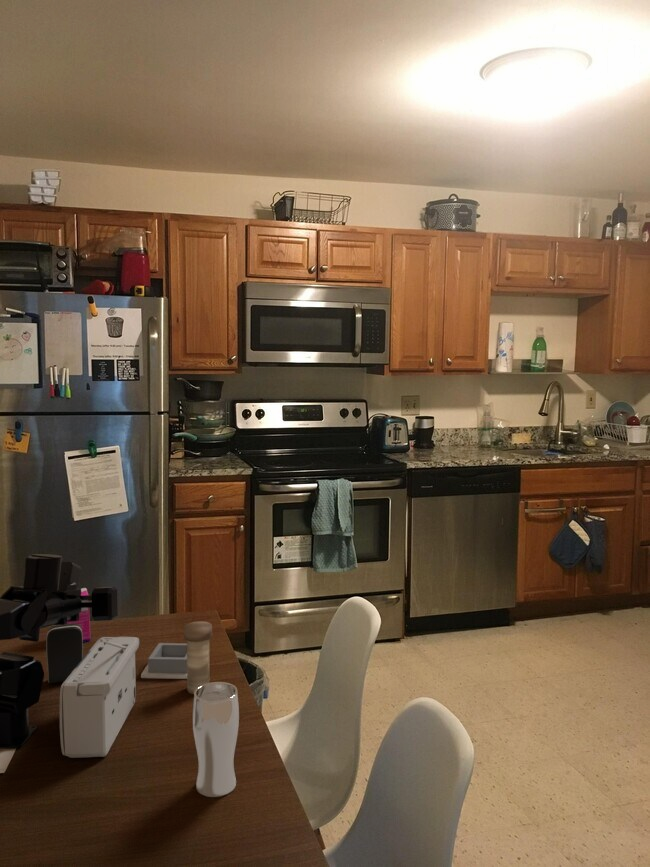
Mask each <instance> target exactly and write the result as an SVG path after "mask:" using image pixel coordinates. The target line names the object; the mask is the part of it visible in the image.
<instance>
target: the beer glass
mask: <svg viewBox="0 0 650 867" xmlns="http://www.w3.org/2000/svg"><path fill="white" fill-rule="evenodd" d="M192 706H193V707H192V732H193V738H194V742H195V748H196V754H197V759H198V769H197V770H198V771H197V772H198V773H197V778H196V783H195V784H196V786H195V789H196V790H197V793H199V794H200V795H201V796H204V797H207V798H220V797H223V796H226V795H228V794H230V793H232V792H233V791H234V790H235V788H236V786H237V785H236V784H237V779H236V774H235V766H234V760H235V758H234V757H235V752H236V751H235V750H236V747H237V746H236V745H237V740H238V735H239V724H240V723H239V721H240V710H239V709H240V708H239V695H238V688H237V687H236V685H234V684H232V683H230V682H226V681H214V682H213V681H211V682H210V683H207V684H204V685H201V686H199V687H198V688H197V689H196V690H195V691H194V694H193V705H192Z"/></svg>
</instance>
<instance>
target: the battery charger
mask: <svg viewBox="0 0 650 867" xmlns="http://www.w3.org/2000/svg"><path fill="white" fill-rule="evenodd" d="M45 647H46V649H45V650H46V662H47V683H48V684H50V685H51V684H59V683H60V684H61V683H64V681H65V680H66V679H67V678H68V676H69V675H70V674H71V673H72V672H73V670H74V669H75V668H76V667H77V665H78V664H79V663H80V662H81V660H82V659H83V658H84V657H83V656H84V652H83V651H84V642H83V636H82V630H81V627H80V626H79V625H78V624H64V625H52V626H50V627H49V629H48V630H47V633H46V645H45Z"/></svg>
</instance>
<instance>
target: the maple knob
mask: <svg viewBox="0 0 650 867" xmlns="http://www.w3.org/2000/svg"><path fill="white" fill-rule="evenodd" d="M212 637H213V624H212V623H210V622H208V621H202V620H201V621H192V622H188V623H186V624H185V625H184V626H183V639H184V640H185V641H186V644H187V679H186V681H187V684H186V685H187V686H186V687H187V692H188V694H191V695H194V691H195V690H196V689H197V688H198V687H199V686H201V685H204V684H207V683H211V682H210V681H211V680H210V640H211V638H212Z"/></svg>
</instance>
